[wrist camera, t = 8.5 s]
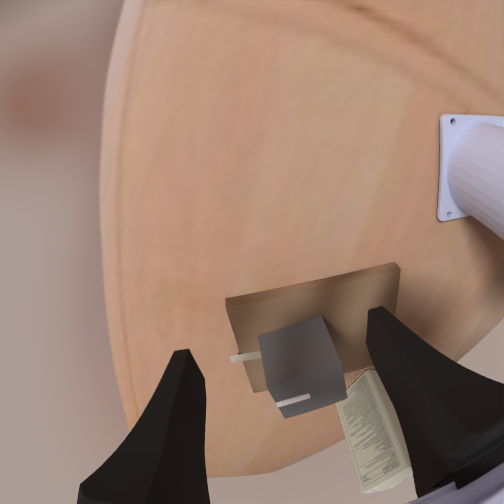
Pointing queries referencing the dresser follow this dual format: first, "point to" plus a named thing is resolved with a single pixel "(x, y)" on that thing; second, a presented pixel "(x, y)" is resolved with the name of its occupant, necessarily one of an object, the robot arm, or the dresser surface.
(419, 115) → the dresser surface
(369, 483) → the skincare box
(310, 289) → the board
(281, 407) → the mini file drawer
